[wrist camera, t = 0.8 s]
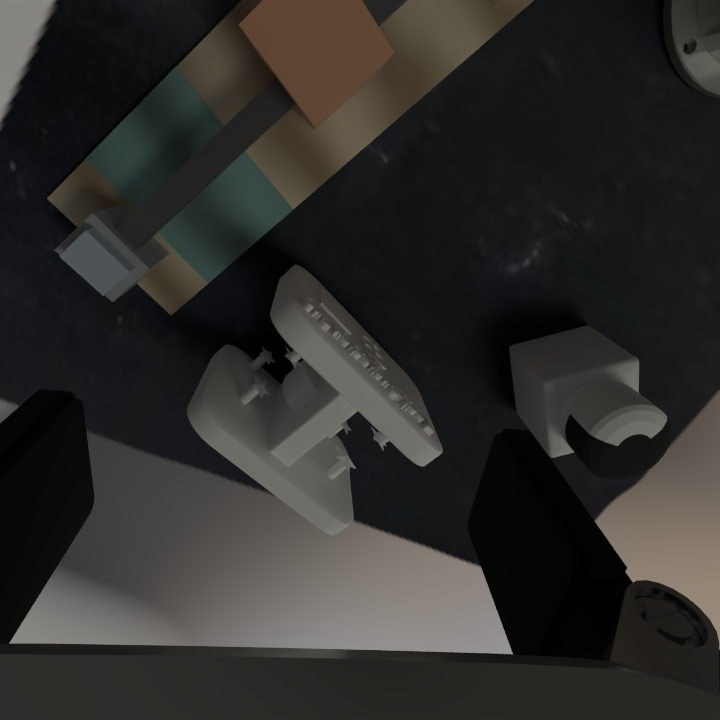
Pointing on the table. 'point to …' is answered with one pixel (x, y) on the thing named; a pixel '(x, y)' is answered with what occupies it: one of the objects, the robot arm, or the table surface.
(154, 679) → the robot arm
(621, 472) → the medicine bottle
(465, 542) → the table surface
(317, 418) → the cable organizer
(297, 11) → the brown rectangular block
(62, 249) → the connector
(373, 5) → the dark grey bar
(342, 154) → the board
